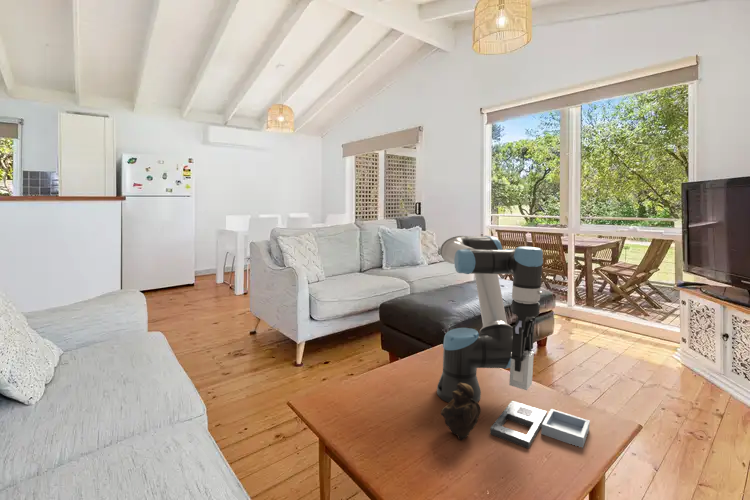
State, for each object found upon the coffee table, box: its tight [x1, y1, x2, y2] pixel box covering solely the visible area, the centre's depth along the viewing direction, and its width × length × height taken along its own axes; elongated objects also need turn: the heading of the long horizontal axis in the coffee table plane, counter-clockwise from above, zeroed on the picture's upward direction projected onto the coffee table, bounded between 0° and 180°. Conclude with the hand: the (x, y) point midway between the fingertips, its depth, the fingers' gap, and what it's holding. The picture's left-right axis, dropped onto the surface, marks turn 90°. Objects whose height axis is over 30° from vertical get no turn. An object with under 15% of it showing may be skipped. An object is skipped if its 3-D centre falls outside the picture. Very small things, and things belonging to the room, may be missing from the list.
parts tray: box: [540, 408, 591, 449], centre depth 116 cm, size 11×11×3 cm
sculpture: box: [440, 383, 482, 441], centre depth 113 cm, size 11×11×15 cm
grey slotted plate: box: [489, 400, 548, 450], centre depth 119 cm, size 11×20×2 cm, turn 143°
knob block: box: [508, 349, 535, 391], centre depth 114 cm, size 5×5×11 cm
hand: (521, 377), depth 114 cm, fingers closed on knob block, 5 cm apart
